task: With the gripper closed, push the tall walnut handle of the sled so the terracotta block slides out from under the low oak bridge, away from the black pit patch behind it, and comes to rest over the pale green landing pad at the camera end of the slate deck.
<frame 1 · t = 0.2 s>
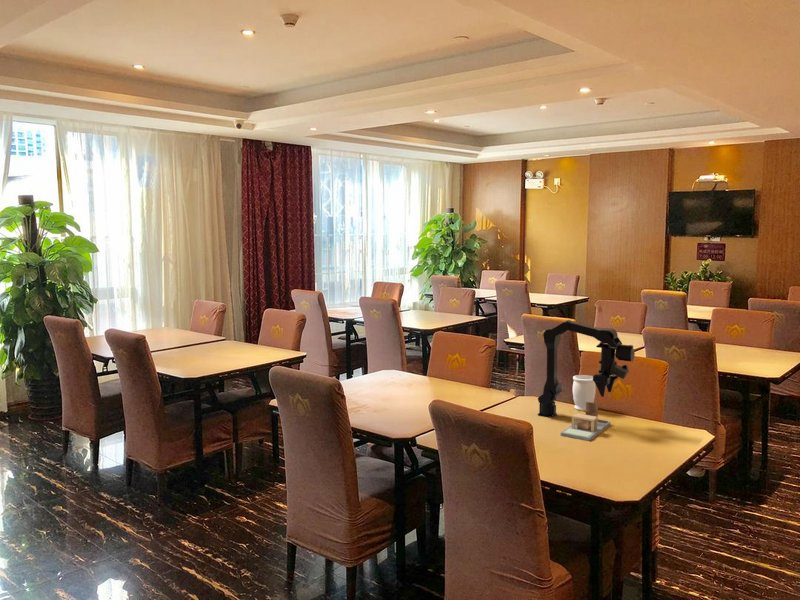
hand: (606, 394, 277), 13 cm above the table, fingers open, 9 cm apart
jar: (583, 409, 303), on the table
sled: (587, 415, 273), point 6 cm above the table, slide at 0.0 cm
bridge deck: (586, 429, 272), on the table
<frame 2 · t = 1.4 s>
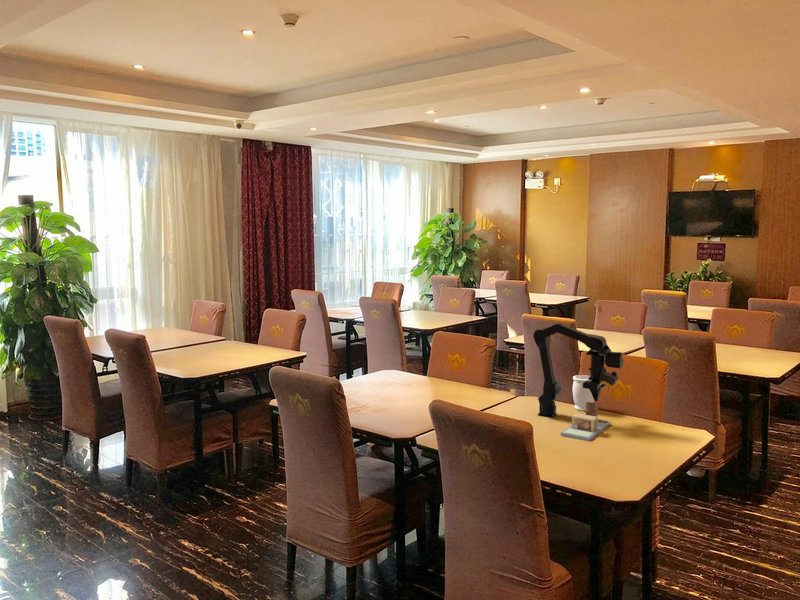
hand: (596, 401, 281), 10 cm above the table, fingers closed
nothing on the table moved.
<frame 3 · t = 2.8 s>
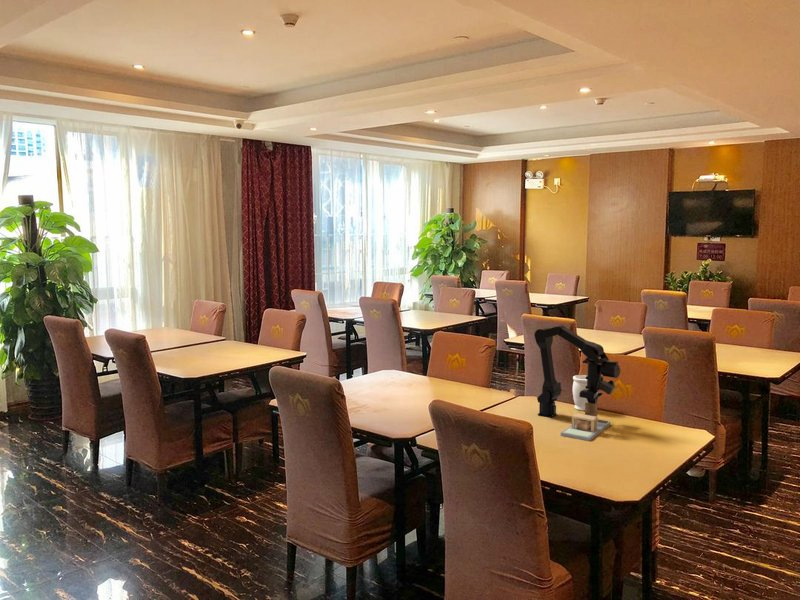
hand: (593, 409, 278), 7 cm above the table, fingers closed
sled: (586, 416, 272), point 6 cm above the table, slide at 1.0 cm, touching gripper
everything else where it was.
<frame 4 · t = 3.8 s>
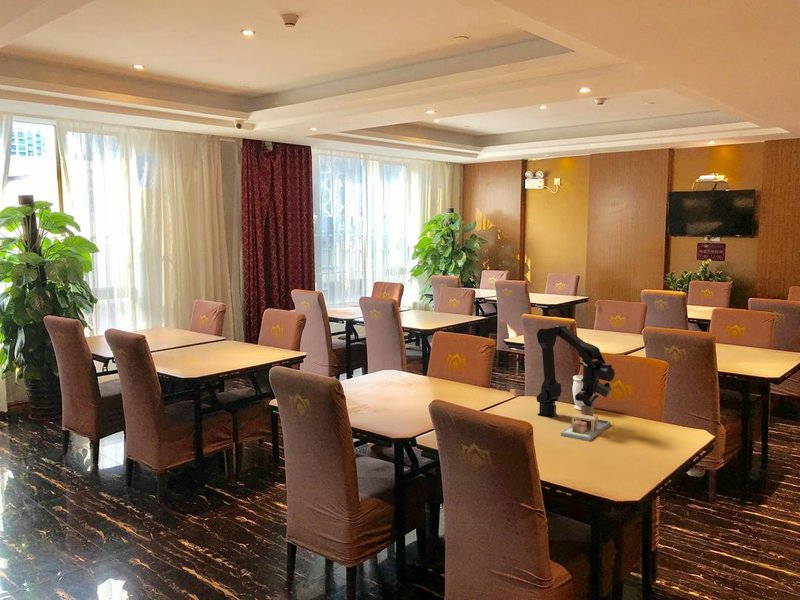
hand: (589, 412, 274), 7 cm above the table, fingers closed
sled: (582, 418, 268), point 6 cm above the table, slide at 5.5 cm, touching bridge deck, gripper
everything else where it was.
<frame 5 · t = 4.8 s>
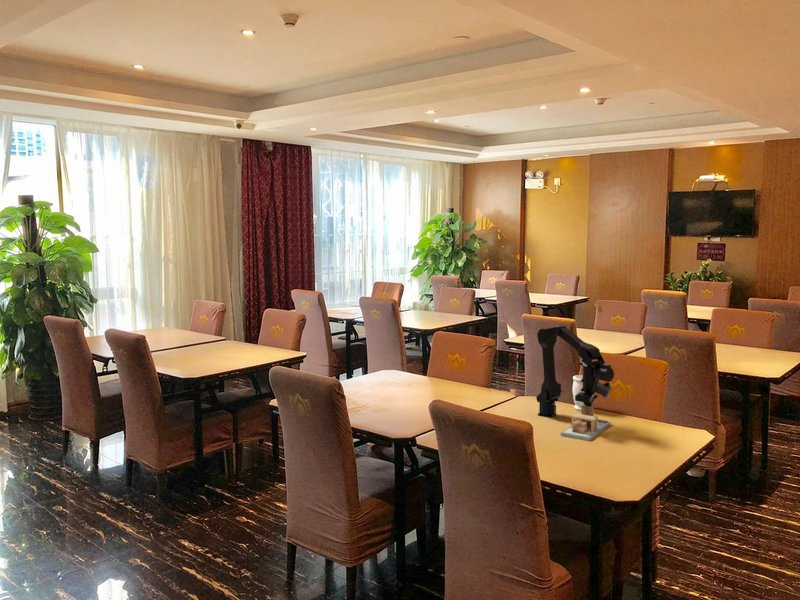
hand: (589, 412, 274), 7 cm above the table, fingers closed
nothing on the table moved.
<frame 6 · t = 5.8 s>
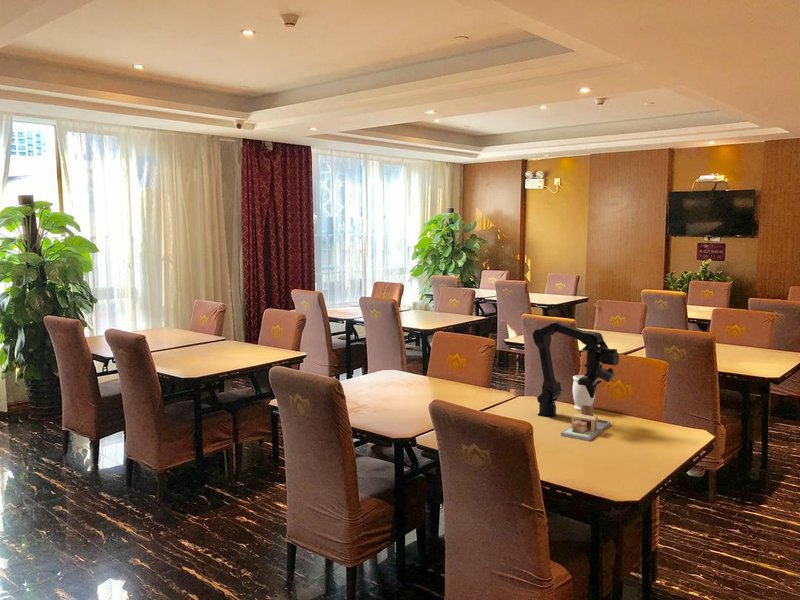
hand: (592, 397, 278), 12 cm above the table, fingers closed
sled: (582, 418, 268), point 6 cm above the table, slide at 5.5 cm, touching bridge deck
everything else where it was.
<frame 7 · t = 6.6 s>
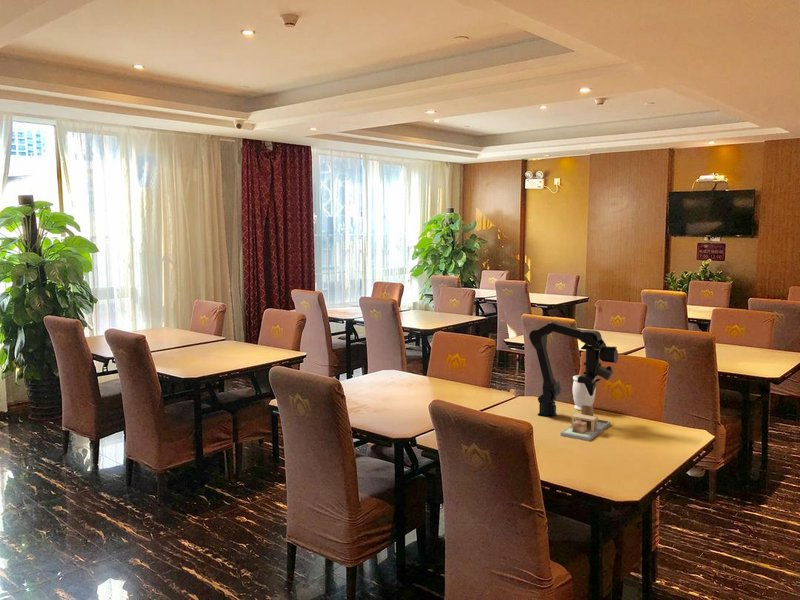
hand: (591, 395, 281), 12 cm above the table, fingers closed
nothing on the table moved.
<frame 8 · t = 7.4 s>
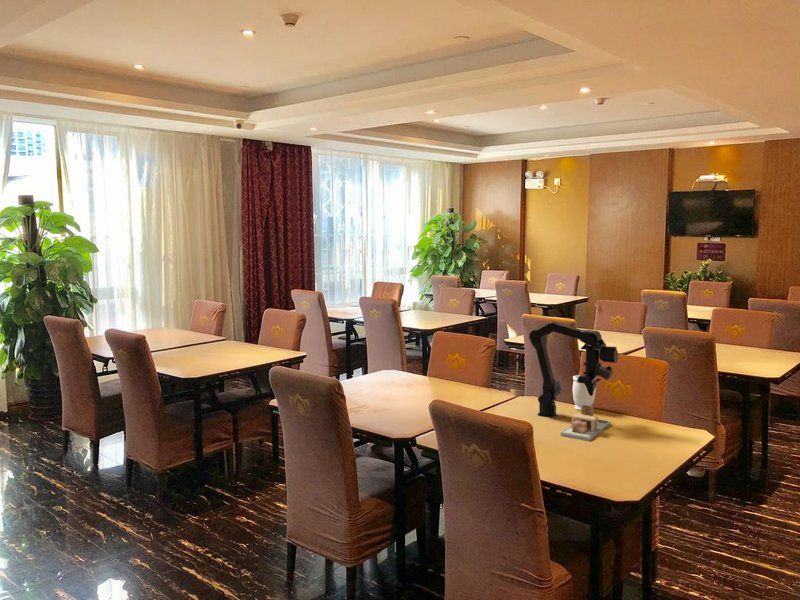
hand: (591, 395, 281), 12 cm above the table, fingers closed
nothing on the table moved.
at the end: sled slide at 5.5 cm; sled inside the target area (2.2 cm from its centre), resting on bridge deck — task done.
